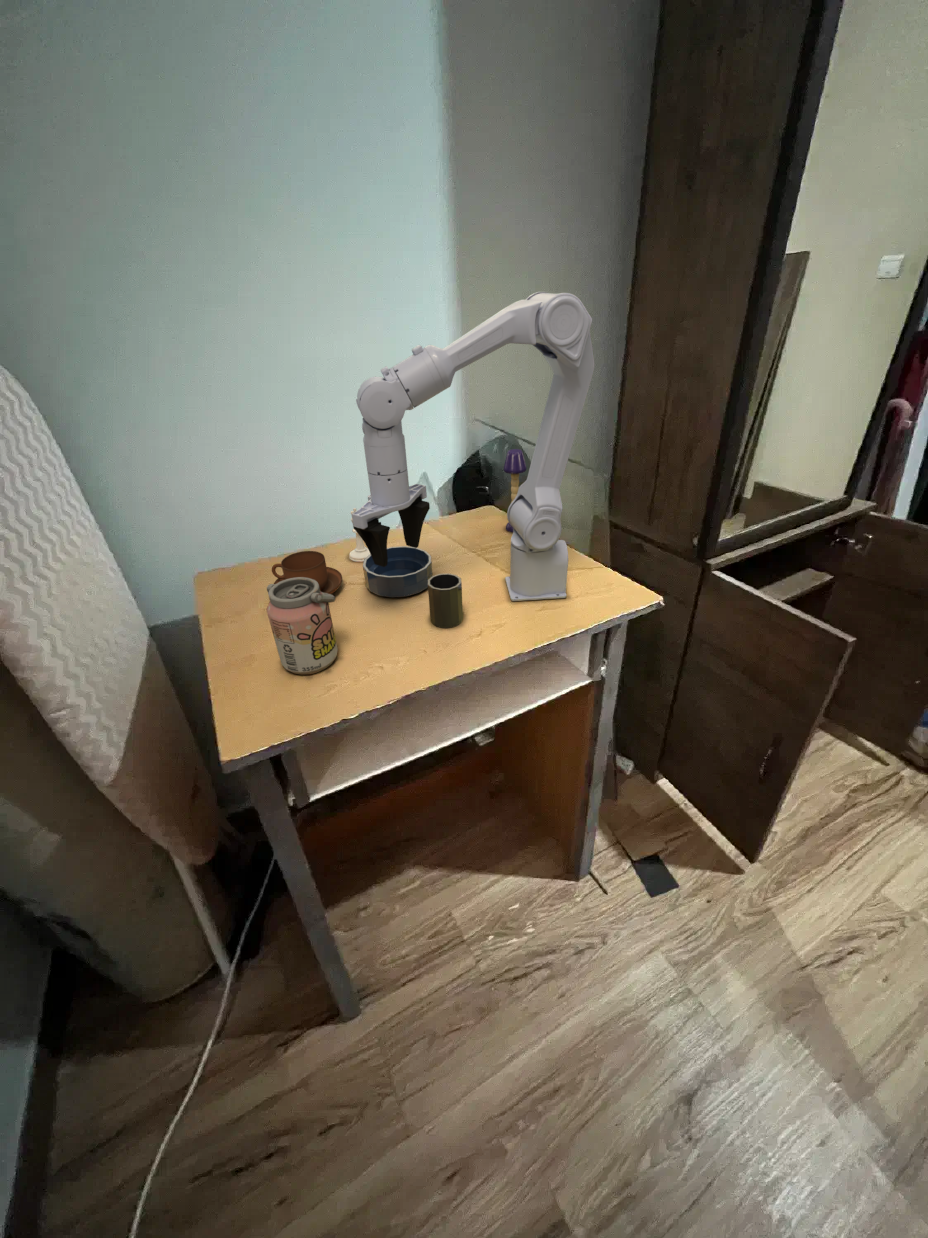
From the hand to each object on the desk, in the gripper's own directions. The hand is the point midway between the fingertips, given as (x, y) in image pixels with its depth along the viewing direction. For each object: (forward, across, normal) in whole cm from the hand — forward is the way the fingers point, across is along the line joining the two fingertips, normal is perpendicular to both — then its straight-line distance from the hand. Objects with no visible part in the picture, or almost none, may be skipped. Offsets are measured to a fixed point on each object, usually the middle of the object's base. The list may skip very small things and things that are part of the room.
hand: (397, 555), depth 83 cm
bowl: (+10, -6, -6) cm, 13 cm away
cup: (+10, -1, +8) cm, 13 cm away
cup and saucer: (+10, +4, -18) cm, 21 cm away
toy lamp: (+10, -38, 0) cm, 39 cm away
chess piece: (+10, -11, -20) cm, 25 cm away
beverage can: (+10, +18, -2) cm, 20 cm away
